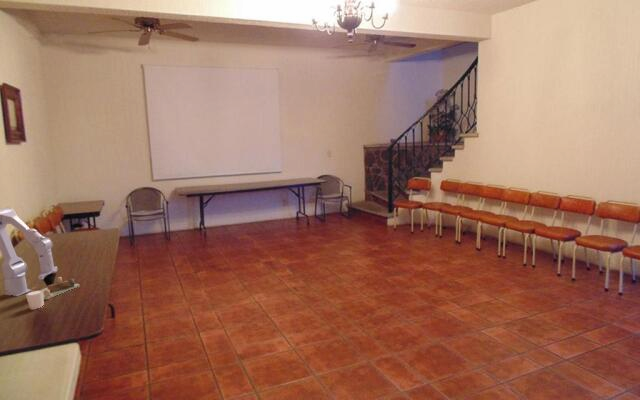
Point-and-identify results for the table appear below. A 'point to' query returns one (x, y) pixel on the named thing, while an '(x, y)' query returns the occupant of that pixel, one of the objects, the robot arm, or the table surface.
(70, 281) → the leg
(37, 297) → the shot glass
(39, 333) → the table surface
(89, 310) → the table surface
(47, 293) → the seat
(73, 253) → the table surface
